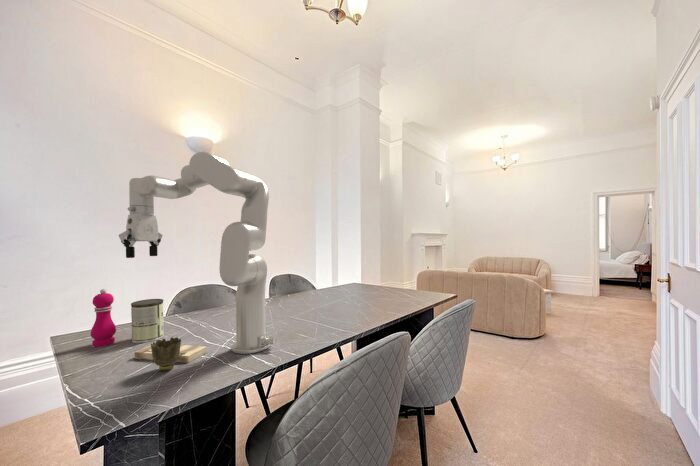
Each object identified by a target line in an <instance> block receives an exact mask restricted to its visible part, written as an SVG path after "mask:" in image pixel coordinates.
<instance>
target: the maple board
mask: <svg viewBox="0 0 700 466" xmlns="http://www.w3.org/2000/svg"><path fill="white" fill-rule="evenodd" d="M207 349H208V346H203V345H200V346H199V345H189V344H187V345H184V344H181V346H180V353H179V357H178V359H177V360H176V361H175V362H174V363H184V364H185V363H186V364H187V363H188V364H189V363H191V362H192V361H196V359H198V358H201V357H202V356H203V355H206V354H207V353H208V350H207ZM134 359H137V360H138V359H139V360H148V361H154V360H153V356H152V350H151V345H148V346H145V347H143V348H141V349H139V350H136V351H134Z"/></svg>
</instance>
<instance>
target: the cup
mask: <svg viewBox="0 0 700 466" xmlns="http://www.w3.org/2000/svg"><path fill="white" fill-rule="evenodd" d="M155 341H156V342H155ZM155 341H154V342H153V341H152V343H150V346H151V350H152V356H153V360H152V361H153V363H154V364H155V365H157V366H159V367H158V370H160V371H161V372H167V371H170V370H172V369H173V368H174V367H175V363H176V362H175V361H176V360H177V359H178V357H179V353H180V346H181V345H182V344H181V343H182V339H181V338H179V337H170V339H169V340H166V338H163V339H162V340H161V339H158V340H155Z"/></svg>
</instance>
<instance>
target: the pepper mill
mask: <svg viewBox="0 0 700 466" xmlns="http://www.w3.org/2000/svg"><path fill="white" fill-rule="evenodd" d="M99 292H100V293H99V294H96V295H95V296H94V297H93V298H92V304H93V306H94V309H93V310H94V312H95V314H96V315H95V320H94V324H93V326H91V327H92V328H91V330H90V337H91V338H92V339H93V340H92V342H91V345H92V347H93V348H101V347H107V346H110V345H113V344H114V343H115V342H116V341H115V338H116V337H115V336H114V335H115V334H116V332H117V327H116V323H114V321H113V319H112V316H111V315H112V314H111V313H112V312H111V311H112V310H113V305H112V304H113V303H114V301H115V298H114V296H113V295H112V294H111V293H107V290H106V289H105V288H102V289H100V290H99Z"/></svg>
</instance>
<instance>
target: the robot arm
mask: <svg viewBox="0 0 700 466" xmlns="http://www.w3.org/2000/svg"><path fill="white" fill-rule="evenodd" d="M128 182H129V184H128V185H129V188H128V189H129V192H128V195H129V202H128V203H129V205H128V207H127V211H129V214H128V215H127V219H126V227H125V231H123V232H121V233H119V234H118V238H119V240H120V243H122V245H123V247H124V248H125V258H126V259H133V258H135V256H136V255H135V254H136V253H135V252H136V251H135V250H136V249H135V246H134V245H135V243H136V242H148V244H149V249H148V250H149V252H148V253H149V254H148V255H149V256H150V257H157V256H158V246H159V245H160V243H161V242H162V238H163V234H162V233H161V232H159V225H158V220H157V216H156V215H155V211H154V210H155V209H154V208H155V206H154V205H155V204H154V202H155V199H154V198H162V199H167V200H175V199H181V198H184V197H187V196H190V195H192V194H193V193H194V192H195V191H197V189H198V188H199V189H200V188H203V187H206V186H209V185H210V186H211V187H212V188H214V189H216V190H218V191H219V192H222V193H223V194H227V195H232V196H236V197H241V198H244V199H245V200H244V202H243V204H242V207H241V212H240V213H241V215H240V221H235V222H232V223H230V224H228V225H227V226H226V227H225V229H224V231H223V233H222V236H221V242H220V254H219V255H220V256H219V266H218V267H219V268H218V269H219V277H220V278H221V281H222V282H223V283H224V284H225V285H227V286H229V287H237V288H236V293H235V323H236V324H235V329H236V331H235V332H236V342H234V343H233V344H232V345H231V351H232V352H233V353H236V354H240V355H244V354H246V355H247V354H248V355H249V354H256V353H259V352H264V351H265V350H267V349H268V348H270V346H271V345H272V346H273V345H275V344H276V341H277V339H276V336H270V334H269V331H266V328H267V326H266V324H267V323H266V321H267V320H266V283H267V276H268V265H267V263H266V261H265V259H264V258H263V257H262V256H260V255H258V254H255V253H254V254H253V253H252V254H251V253H250V252H253V251H257V250H259V249H262V248H263V247H264V245H265V243H266V239H267V238H266V237H267V223H268V208H269V200H270V193H269V189H268V187H267V185H266V183H265V182H264V181H263V180H261V179H260V178H259V177H257V176H255V175H253V174H251V173H248V172H246V171H242V170H240V169H237V168H234V167H232V166H231V164H230V162H229V161H228V160H226V159H225V158H223V157H221V156H219V155H216V154H214V153H212V152H209V151H204V150H203V151H198V152H196V153H194V154H193V155H192V156H191V157H190V159H189V162H188V164H187V165H185V166H183V167H182V168H181V170H180V178H177V179H171V178H166V177H163V176H162V177H161V176H156V175H146V176H143V177H132V178H131V179H130V180H129V181H128Z"/></svg>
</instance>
